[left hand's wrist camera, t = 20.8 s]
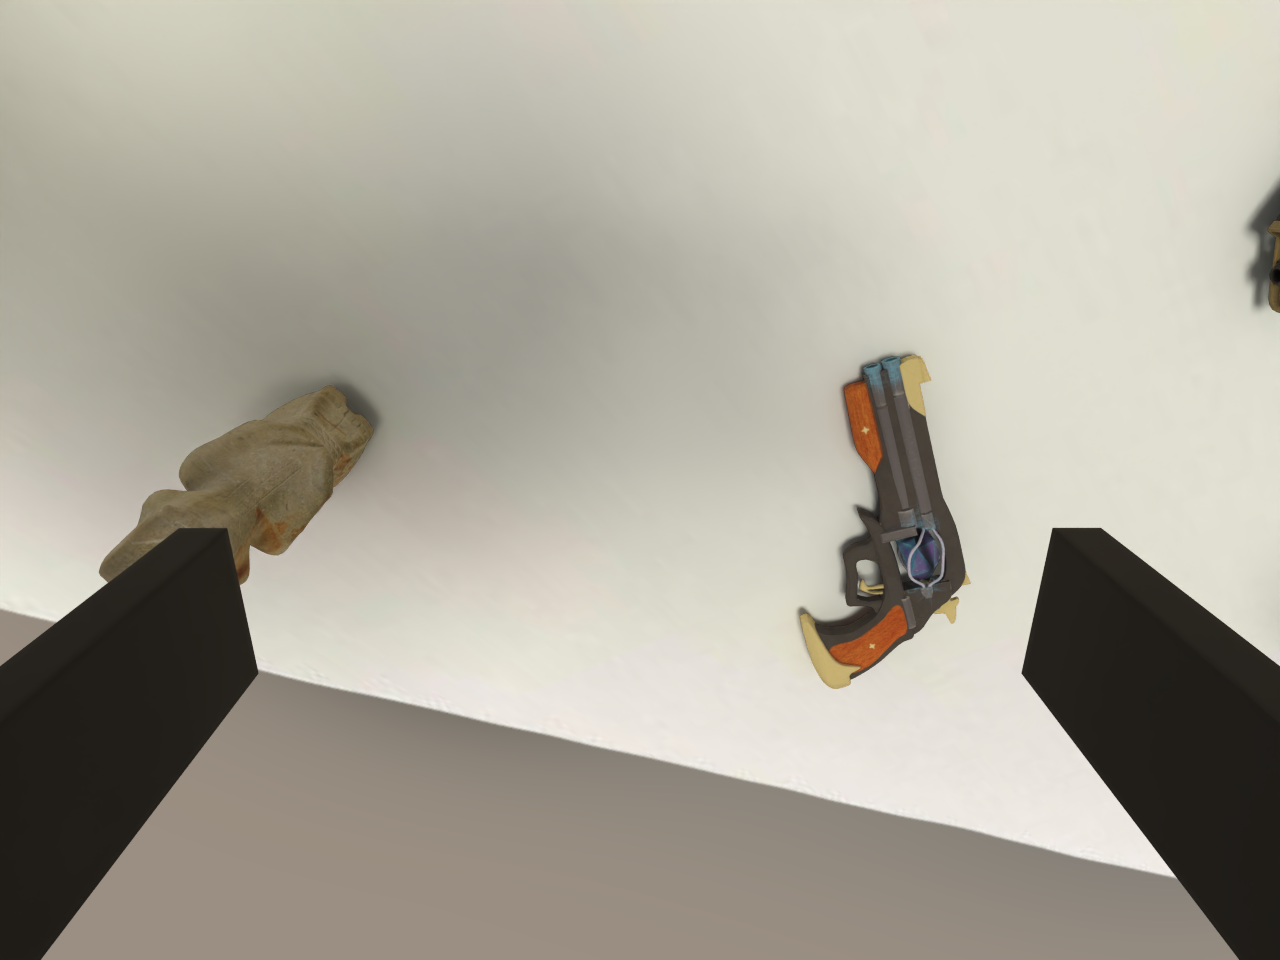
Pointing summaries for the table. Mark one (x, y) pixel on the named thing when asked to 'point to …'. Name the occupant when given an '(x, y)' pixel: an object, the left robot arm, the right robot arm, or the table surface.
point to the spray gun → (1275, 268)
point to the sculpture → (255, 481)
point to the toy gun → (892, 527)
